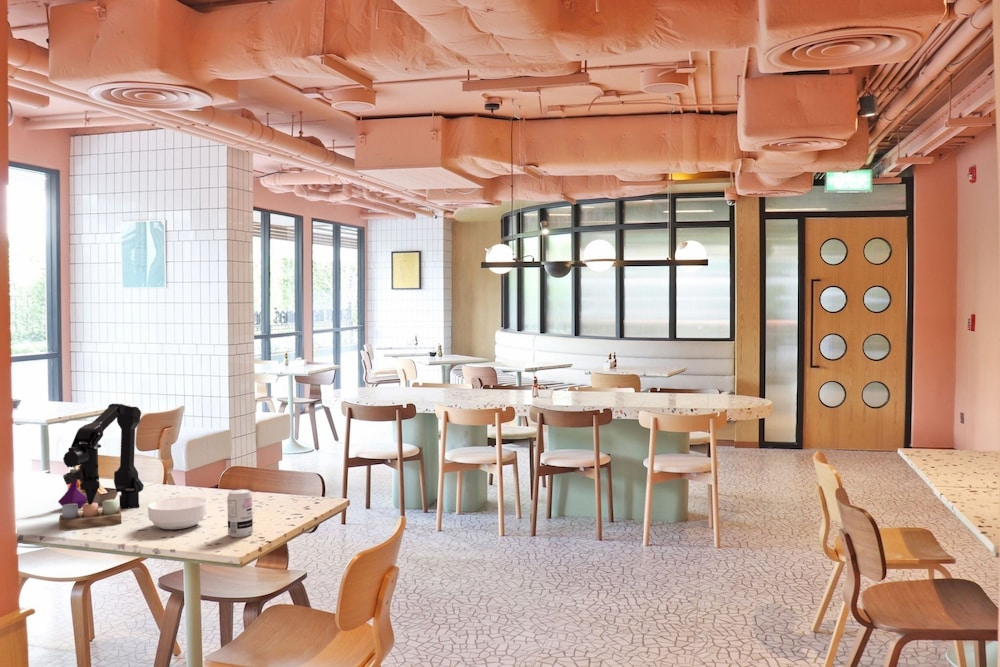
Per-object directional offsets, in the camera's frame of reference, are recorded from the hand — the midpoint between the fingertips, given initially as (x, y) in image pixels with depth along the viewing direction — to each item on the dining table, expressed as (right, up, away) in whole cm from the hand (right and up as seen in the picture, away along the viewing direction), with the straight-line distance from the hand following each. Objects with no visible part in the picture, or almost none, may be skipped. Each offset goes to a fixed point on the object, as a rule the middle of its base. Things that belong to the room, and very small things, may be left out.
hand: (90, 504), depth 294 cm
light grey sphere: (-6, -5, -3) cm, 8 cm away
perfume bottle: (-18, -7, +22) cm, 29 cm away
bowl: (+34, -7, -5) cm, 35 cm away
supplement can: (+60, -7, -16) cm, 63 cm away
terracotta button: (0, -5, 0) cm, 5 cm away
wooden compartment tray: (0, -7, 0) cm, 7 cm away
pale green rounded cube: (+6, -4, +3) cm, 8 cm away
